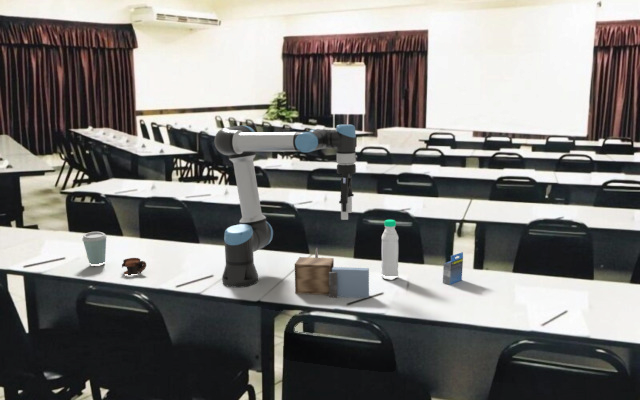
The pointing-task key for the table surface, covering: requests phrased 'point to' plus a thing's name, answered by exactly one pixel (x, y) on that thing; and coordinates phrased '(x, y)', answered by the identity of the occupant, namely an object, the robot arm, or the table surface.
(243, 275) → the robot arm
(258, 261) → the table surface
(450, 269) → the label tape box
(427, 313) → the table surface
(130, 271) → the pottery mug
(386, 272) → the water bottle
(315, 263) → the cabinet
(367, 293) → the door
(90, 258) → the disposable coffee cup
